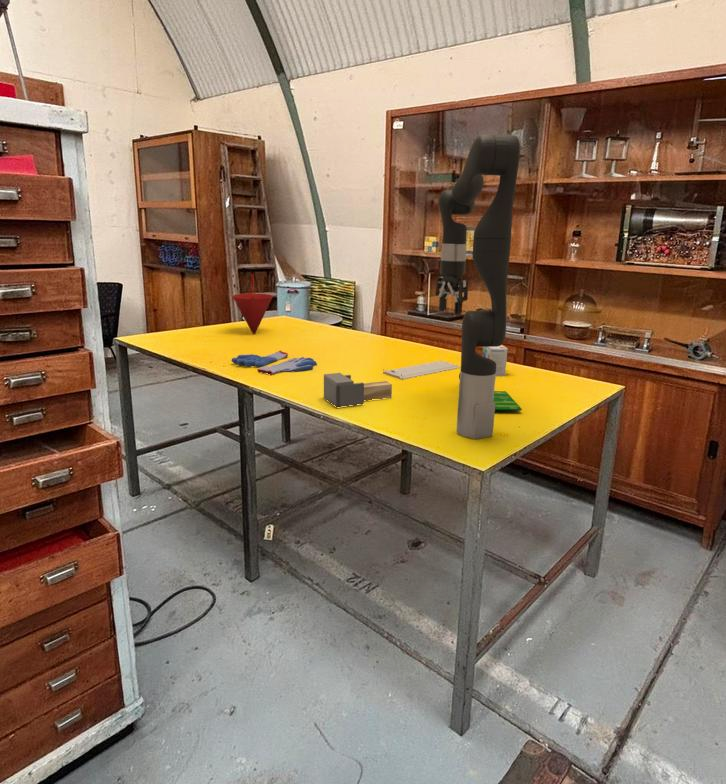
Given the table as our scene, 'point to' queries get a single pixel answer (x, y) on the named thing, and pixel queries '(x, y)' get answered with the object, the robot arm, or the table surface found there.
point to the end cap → (342, 390)
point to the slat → (377, 390)
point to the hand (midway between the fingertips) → (449, 312)
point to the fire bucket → (252, 307)
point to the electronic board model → (504, 401)
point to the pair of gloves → (286, 366)
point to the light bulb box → (497, 357)
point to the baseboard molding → (420, 370)
